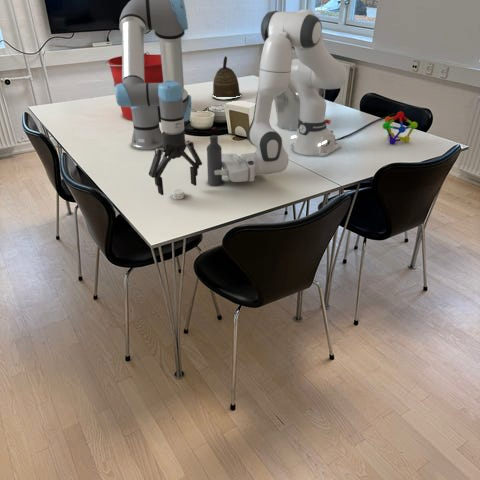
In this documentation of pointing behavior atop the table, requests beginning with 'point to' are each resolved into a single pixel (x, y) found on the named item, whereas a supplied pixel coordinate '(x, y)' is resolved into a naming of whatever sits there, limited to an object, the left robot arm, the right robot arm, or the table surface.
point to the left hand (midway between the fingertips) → (177, 189)
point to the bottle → (214, 161)
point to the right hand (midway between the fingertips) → (212, 168)
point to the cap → (178, 194)
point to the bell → (225, 82)
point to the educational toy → (398, 128)
